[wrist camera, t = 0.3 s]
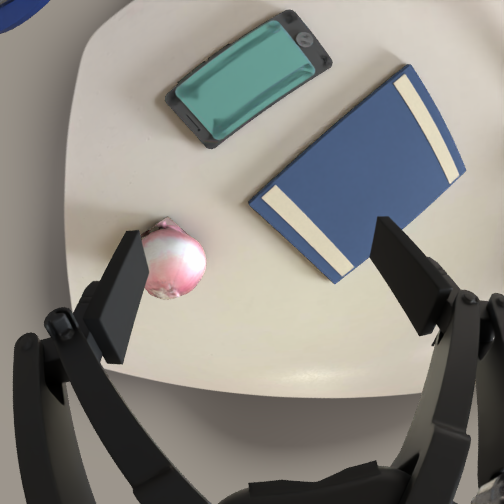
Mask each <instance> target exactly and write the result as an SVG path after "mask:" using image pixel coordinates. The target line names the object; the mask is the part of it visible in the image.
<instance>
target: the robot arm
mask: <svg viewBox="0 0 504 504" xmlns="http://www.w3.org/2000/svg"><path fill="white" fill-rule="evenodd" d="M12 1H14V0H0V7H3V6H5V5H7V4H9V3H10V2H12ZM370 259H371V260H372V262H373V263H374V265H375V266H376V268H377V269H378V271H379V272H380V274H381V275H382V277H383V278H384V280H385V281H386V283H387V284H388V286H389V287H390V289H391V290H392V292H393V294H394V295H395V297H396V298H397V300H398V302H399V303H400V305H401V306H402V308H403V310H404V311H405V313H406V315H407V316H408V318H409V320H410V321H411V323H412V325H413V326H414V328H415V330H416V331H417V333H418V335H419V336H423V335H427V334H431V333H432V332H433V330H434V328H435V326H436V324H437V325H438V327H439V329H440V330H439V332H438V334H437V336H436V338H435V340H434V342H433V344H432V345H431V346H434V344H435V347H434V351H433V355H432V359H431V363H430V367H429V370H428V374H427V378H426V381H425V384H424V388H423V391H422V395H421V397H420V400H419V403H418V406H417V409H416V412H415V415H414V418H413V421H412V423H411V426H410V429H409V431H408V434H407V436H406V439H405V441H404V444H403V446H402V448H401V451H400V453H399V454H398V456H397V458H396V459H395V460H394V462H393V463H392V465H391V466H390V467H387V466H378V465H377V462H376V460H375V461H372V462H369V463H365V464H362V465H358V466H354V467H349V468H346V469H344V470H342V471H341V472H339V473H336V474H334V475H332V476H330V477H328V478H325V479H323V480H321V481H318V482H300V481H288V480H276V481H266V482H254V483H248V484H249V488H246V489H243V490H240V491H238V492H235V493H233V494H231V495H230V496H228V497H226V498H225V499H224V500H222V501H221V502H220V503H218V504H457V503H455V502H453V499H454V496H455V493H456V490H457V488H458V485H459V482H460V479H461V475H462V472H463V469H464V466H465V462H466V458H467V455H468V451H469V447H470V442H471V437H470V435H467V434H466V428H467V424H468V419H469V414H470V409H471V404H472V398H473V392H474V385H475V380H476V389H477V390H476V391H477V405H478V435H479V436H478V437H479V438H478V439H479V440H478V441H479V442H478V487H479V491H478V492H477V495H476V496H475V497H474V498H473V499H472V501H471V504H504V296H503V295H502V294H499V293H494V294H492V295H491V297H490V299H489V301H479V299H478V297H477V296H476V295H475V294H474V293H472V292H470V291H467V290H460V288H459V287H458V286H457V285H456V283H455V282H454V281H453V280H452V279H451V277H450V276H449V275H447V273H446V272H445V270H443V268H442V267H441V266H440V265H439V264H438V262H436V261H435V260H433V259H432V258H430V257H426V256H425V254H424V253H423V252H422V251H421V250H420V249H419V248H418V247H417V246H416V244H415V243H414V242H413V241H412V240H411V239H410V238H409V237H408V236H407V235H406V234H405V233H404V232H403V231H402V229H401V228H400V227H399V226H398V225H397V224H396V223H395V222H394V221H393V220H392V219H391V218H390V217H389V216H377V221H376V226H375V232H374V237H373V242H372V247H371V252H370ZM148 275H149V268H148V264H147V260H146V256H145V252H144V248H143V244H142V240H141V236H140V231H139V230H135V231H126V233H125V234H124V236H123V238H122V240H121V242H120V243H119V245H118V247H117V249H116V251H115V253H114V255H113V256H112V258H111V260H110V262H109V264H108V266H107V268H106V270H105V272H104V274H103V276H102V278H101V280H100V281H93V282H91V283H90V284H89V285H88V286H87V287H86V288H85V290H84V292H83V294H82V297H81V298H80V300H79V303H78V304H77V306H76V308H75V310H74V312H73V313H72V311H71V310H70V309H69V308H65V307H64V308H63V307H62V308H58V309H55V310H53V311H52V312H50V313H49V314H48V316H47V317H46V318H45V321H44V326H45V328H46V330H47V332H48V333H49V335H50V336H51V338H47V339H43V340H39V338H38V336H37V335H36V334H35V333H26V334H24V335H23V336H21V337H20V338H19V339H18V340H17V342H16V344H15V347H14V363H13V411H14V427H15V438H16V448H17V455H18V462H19V468H20V474H21V480H22V485H23V489H24V493H25V498H26V502H27V504H96V502H95V499H94V496H93V493H92V491H91V488H90V485H89V482H88V479H87V475H86V472H85V469H84V466H83V463H82V459H81V455H80V451H79V447H78V443H77V440H76V436H75V431H74V427H73V422H72V417H71V412H70V407H69V400H68V394H67V389H66V382H69V381H70V382H71V385H72V387H73V389H74V391H75V393H76V395H77V397H78V399H79V401H80V403H81V405H82V407H83V409H84V411H85V413H86V415H87V416H88V418H89V420H90V422H91V424H92V426H93V428H94V429H95V431H96V433H97V434H98V436H99V438H100V440H101V441H102V443H103V444H104V446H105V448H106V449H107V451H108V453H109V454H110V455H111V457H112V459H113V460H114V462H115V463H116V465H117V466H118V468H119V469H120V470H121V472H122V473H123V475H124V476H125V478H126V479H127V480H128V482H129V483H130V485H131V486H132V488H133V493H134V495H135V497H136V498H137V500H138V501H139V502H140V504H211V503H210V502H209V501H208V500H207V499H206V498H205V497H204V496H203V495H202V494H201V493H200V492H199V491H198V490H197V489H196V488H195V487H194V486H193V485H192V484H191V483H190V482H189V481H188V480H187V479H186V478H185V477H184V476H183V475H182V473H180V471H179V470H178V469H177V468H176V467H175V466H174V464H173V463H172V462H171V461H170V460H169V459H168V458H167V457H166V455H165V454H164V453H163V452H162V450H161V449H160V448H159V447H158V446H157V445H156V443H155V442H154V441H153V439H152V438H151V437H150V436H149V434H148V433H147V432H146V430H145V429H144V428H143V427H142V425H141V424H140V422H139V421H138V420H137V418H136V417H135V415H134V414H133V413H132V412H131V410H130V409H129V407H128V406H127V404H126V403H125V401H124V400H123V398H122V397H121V395H120V394H119V392H118V391H117V389H116V388H115V386H114V385H113V383H112V381H111V380H110V378H109V377H108V375H107V374H106V372H105V370H104V368H103V367H102V365H101V363H100V361H101V358H102V355H103V357H104V359H105V361H106V362H107V364H123V362H124V358H125V354H126V350H127V346H128V342H129V339H130V335H131V331H132V328H133V324H134V321H135V317H136V314H137V310H138V307H139V304H140V300H141V297H142V294H143V291H144V288H145V284H146V281H147V278H148ZM493 338H494V339H493Z"/></svg>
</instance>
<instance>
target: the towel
mask: <svg viewBox="0 0 504 504" xmlns="http://www.w3.org/2000/svg"><path fill="white" fill-rule="evenodd" d="M465 171H466V168H465V166H464V163H463V161H462V158H461V156H460V154H459V152H458V149H457V147H456V145H455V143H454V140H453V138H452V136H451V134H450V132H449V130H448V128H447V126H446V124H445V122H444V120H443V118H442V116H441V114H440V112H439V110H438V109H437V107H436V105H435V103H434V101H433V100H432V98H431V96H430V94H429V93H428V91H427V89H426V88H425V86H424V84H423V83H422V81H421V79H420V78H419V76H418V75H417V73H416V71H415V70H414V68H413V67H412V65H411V64H407V65H406V66H405V67H403V68H402V69H401V70H400V71H398V72H397V73H396V74H395V75H393V76H392V77H391V78H390V79H388V80H387V81H386V82H385V83H383V84H382V85H381V86H380V87H379V88H377V89H376V90H375V91H374V92H372V93H371V94H370V95H369V96H368V97H366V98H365V99H364V100H363V101H362V102H360V103H359V104H358V105H357V106H356V107H354V108H353V109H352V110H351V111H350V112H349V113H347V114H346V115H345V116H344V117H343V118H342V119H340V120H339V121H338V122H337V123H336V124H335V125H333V126H332V127H331V128H330V129H329V130H328V131H326V132H325V133H324V134H323V135H322V136H321V137H319V138H318V139H317V140H316V141H315V142H314V143H313V144H312V145H310V146H309V147H308V148H307V149H306V150H305V151H304V152H302V153H301V154H300V155H299V156H298V157H297V158H296V159H295V160H293V161H292V162H291V163H290V164H289V165H288V166H287V167H286V168H285V169H283V170H282V171H281V172H280V173H279V174H278V175H277V176H276V177H275V178H274V179H272V180H271V181H270V182H269V183H268V184H267V185H266V186H265V187H264V188H263V189H262V190H260V191H259V192H258V193H257V194H256V195H255V196H254V197H253V198H252V199H251V200H250V201H249V202H248V203H249V205H250V206H251V207H252V208H253V209H254V210H255V211H256V212H257V213H258V214H260V215H261V216H262V217H263V218H264V219H265V220H266V221H267V222H268V223H269V224H271V225H272V226H273V227H274V228H275V229H276V230H277V231H278V232H279V233H280V234H281V235H283V236H284V237H285V238H286V239H287V240H288V241H289V242H290V243H291V244H292V245H293V246H294V247H296V248H297V249H298V250H299V251H300V252H301V253H302V254H303V255H304V256H305V257H306V258H307V259H308V260H309V261H310V262H312V263H313V264H314V265H315V266H316V267H317V268H318V269H319V270H320V271H321V272H322V273H323V274H324V275H325V276H326V277H327V278H328V279H329V280H331V281H332V282H333V283H334V284H336V283H337V282H339V281H340V280H341V279H342V278H344V277H345V276H346V275H348V274H349V273H350V272H351V271H353V270H354V269H355V268H356V267H358V266H359V265H360V264H361V263H363V262H364V261H365V260H366V259H368V258H369V257H370V252H371V247H372V242H373V237H374V232H375V226H376V221H377V216H389V217H390V218H391V219H392V220H393V221H394V222H395V223H396V224H397V225H398V226H399V227H400V228H401V229H403V228H405V227H406V226H407V225H408V224H409V223H410V222H411V221H413V220H414V219H415V218H416V217H417V216H418V215H419V214H420V213H422V212H423V211H424V210H425V209H426V208H427V207H428V206H429V205H430V204H432V203H433V202H434V201H435V200H436V199H437V198H438V197H439V196H440V195H441V194H442V193H443V192H445V191H446V190H447V189H448V188H449V187H450V186H451V185H452V184H453V183H454V182H455V181H456V180H457V179H458V178H459V177H460V176H461V175H462V174H463V173H464V172H465Z"/></svg>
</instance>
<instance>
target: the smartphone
mask: <svg viewBox="0 0 504 504" xmlns="http://www.w3.org/2000/svg"><path fill="white" fill-rule="evenodd" d="M332 63H333V62H332V59H331V58H330V56H329V55H328V54H327V52H326V51H325V50H324V48H323V47H322V45H321V44H320V43H319V41H318V40H317V39H316V37H315V36H314V35H313V34H312V32H311V31H310V30H309V28H308V27H307V26H306V25H305V23H304V22H303V21H302V20H301V18H300V17H299V16H298V15H297V14H296V12H294V11H293V10H285V11H284V12H282V13H280V14H278V15H276V16H275V17H273V18H271V19H270V20H268V21H266V22H265V23H263V24H261V25H260V26H258V27H256V28H255V29H253V30H252V31H250V32H249V33H247V34H245V35H244V36H242V37H241V38H239V39H238V40H236V41H235V42H233V43H232V44H227V45H226V46H225V47H223V48H222V49H220V50H219V51H218V52H216V53H215V54H213V55H212V56H211V57H209V58H208V61H207V62H205V61H204V62H203V63H201V64H200V65H199V66H197V67H196V68H195V69H194V70H192V72H191V73H189V74H187V75H186V76H185V77H184V78H182V79H181V80H180V81H179V82H178V84H177V86H176V87H174V88H173V89H172V90H171V91H170V92H169V93H167V95H166V96H165V101H166V103H167V104H168V105H169V106H170V107H171V109H172V110H173V111H174V112H175V113H176V114H177V115H178V116H179V117H180V118H181V120H182V121H183V122H184V123H185V124H186V125H187V126H188V127H189V128H190V130H191V131H192V132H193V133H194V134H195V135H196V136H197V137H198V139H199V140H200V141H201V142H202V143H203V144H204V145H205V146H206V148H209V149H214V148H216V147H217V146H218V145H220V144H221V143H222V142H223V141H225V140H226V139H227V138H229V137H230V136H231V135H232V134H234V133H235V132H236V131H238V130H239V129H240V128H242V127H243V126H244V125H246V124H247V123H248V122H250V121H251V120H253V119H254V118H255V117H257V116H258V115H259V114H261V113H262V112H264V111H265V110H266V109H268V108H269V107H271V106H272V105H274V104H275V103H276V102H278V101H279V100H281V99H282V98H284V97H285V96H287V95H288V94H290V93H291V92H293V91H294V90H296V89H297V88H299V87H300V86H302V85H303V84H305V83H306V82H308V81H310V80H311V79H313V78H314V77H316V76H318V75H319V74H321V73H322V72H324V71H326V70H327V69H329V68H331V66H332Z"/></svg>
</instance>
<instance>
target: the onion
mask: <svg viewBox="0 0 504 504" xmlns="http://www.w3.org/2000/svg"><path fill="white" fill-rule="evenodd" d="M155 226H157V227H159V230H157V231H154V232H152V233H150V231H151V230H152V229H153V228H154V227H155ZM163 228H164V229H163ZM160 229H162V230H160ZM149 233H150V234H149ZM140 236H141V238H142V237H145V236H146V237H145V238H144V239H143V240H142V244H143V248H144V252H145V256H146V260H147V264H148V268H149V275H148V278H147V281H146V284H145V289H146V290H147V291H148V293H149V294H150V295H152V296H154V297H157V298H160V299H165V300H169V299H174V298H177V297H179V296H182V295H185V294H187V293H189V292H190V291H192V290H193V289H194V288H195V287H196V285H197V284H198V283H199V281H200V280H201V278H202V276H203V274H204V272H205V269H206V256H205V252H204V250H203V248H202V246H201V245H200V244H199V243H198V242H197V241H196V240H195V239H194V238H192V237H191V236H190V235H188V234H187V233H186V232H185V231H184V230H182V229H181V228H180V227H179V226H178V225H177V224H176V223H175V222H174V221H173V220H171V219H170V218H169V217H166V218H165V219H163V220H162V221H160V222H159V223H157V224H156V225H154V226H153V227H152V228H151V229H150V230H147V231H146V232H144V233H143V234H141V235H140Z"/></svg>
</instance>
